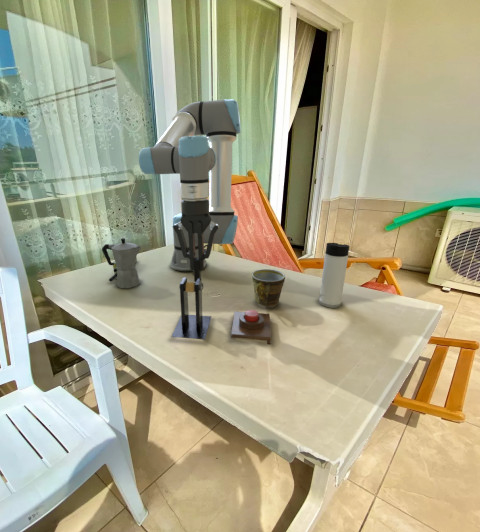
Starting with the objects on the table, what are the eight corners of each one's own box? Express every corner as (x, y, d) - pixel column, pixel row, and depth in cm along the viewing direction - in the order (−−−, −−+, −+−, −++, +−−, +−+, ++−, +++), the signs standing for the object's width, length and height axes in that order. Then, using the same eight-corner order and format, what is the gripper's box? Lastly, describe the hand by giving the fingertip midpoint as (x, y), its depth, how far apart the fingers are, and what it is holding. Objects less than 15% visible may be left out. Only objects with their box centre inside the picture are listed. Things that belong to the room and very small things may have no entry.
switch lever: (193, 291, 92) (193, 280, 92) (204, 292, 91) (204, 280, 91) (183, 293, 79) (183, 280, 79) (196, 294, 78) (196, 281, 78)
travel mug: (315, 304, 96) (322, 243, 89) (323, 297, 100) (331, 238, 93) (336, 310, 92) (345, 247, 85) (343, 302, 96) (353, 242, 89)
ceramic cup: (258, 294, 104) (259, 267, 100) (287, 301, 98) (289, 272, 95) (241, 310, 94) (242, 280, 91) (272, 318, 89) (274, 287, 85)
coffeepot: (148, 279, 120) (144, 235, 113) (140, 289, 111) (135, 242, 105) (112, 278, 122) (106, 234, 116) (101, 287, 114) (94, 241, 107)
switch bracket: (181, 317, 91) (179, 271, 86) (211, 319, 89) (211, 273, 84) (171, 340, 80) (167, 289, 75) (205, 343, 78) (203, 291, 73)
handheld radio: (138, 261, 140) (115, 283, 117) (131, 261, 141) (107, 283, 118) (136, 247, 138) (112, 267, 115) (129, 248, 138) (104, 267, 115)
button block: (234, 317, 90) (234, 305, 88) (269, 320, 88) (269, 308, 86) (231, 341, 79) (231, 328, 77) (270, 344, 77) (271, 331, 75)
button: (245, 315, 84) (245, 309, 83) (258, 315, 83) (258, 310, 83) (244, 321, 81) (244, 316, 80) (258, 322, 80) (258, 316, 79)
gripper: (167, 201, 79) (172, 284, 87) (217, 201, 76) (218, 286, 84) (175, 197, 86) (179, 274, 94) (220, 196, 83) (221, 276, 91)
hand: (197, 280), depth 89 cm, fingers closed
